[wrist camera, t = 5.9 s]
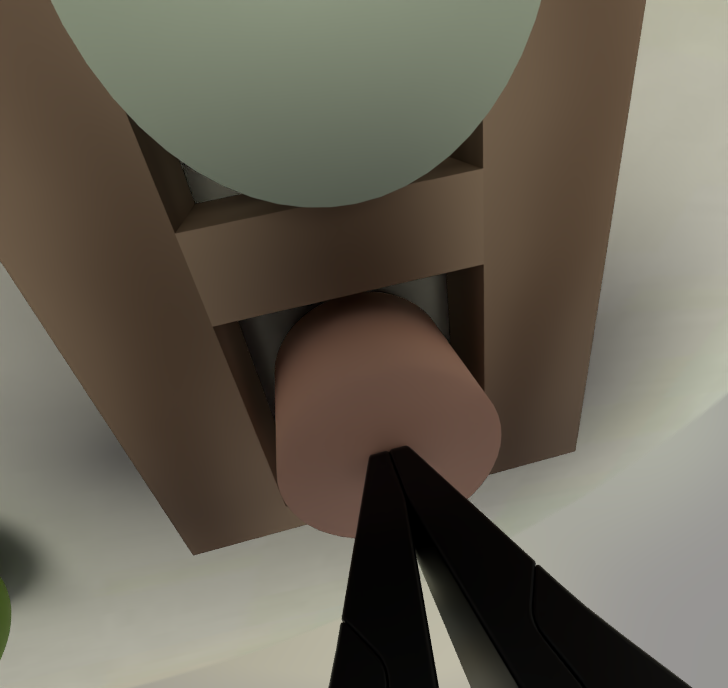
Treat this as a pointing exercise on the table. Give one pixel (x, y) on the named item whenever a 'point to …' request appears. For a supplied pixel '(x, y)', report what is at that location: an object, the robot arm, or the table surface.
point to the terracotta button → (373, 406)
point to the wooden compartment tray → (307, 258)
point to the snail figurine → (4, 616)
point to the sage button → (304, 85)
